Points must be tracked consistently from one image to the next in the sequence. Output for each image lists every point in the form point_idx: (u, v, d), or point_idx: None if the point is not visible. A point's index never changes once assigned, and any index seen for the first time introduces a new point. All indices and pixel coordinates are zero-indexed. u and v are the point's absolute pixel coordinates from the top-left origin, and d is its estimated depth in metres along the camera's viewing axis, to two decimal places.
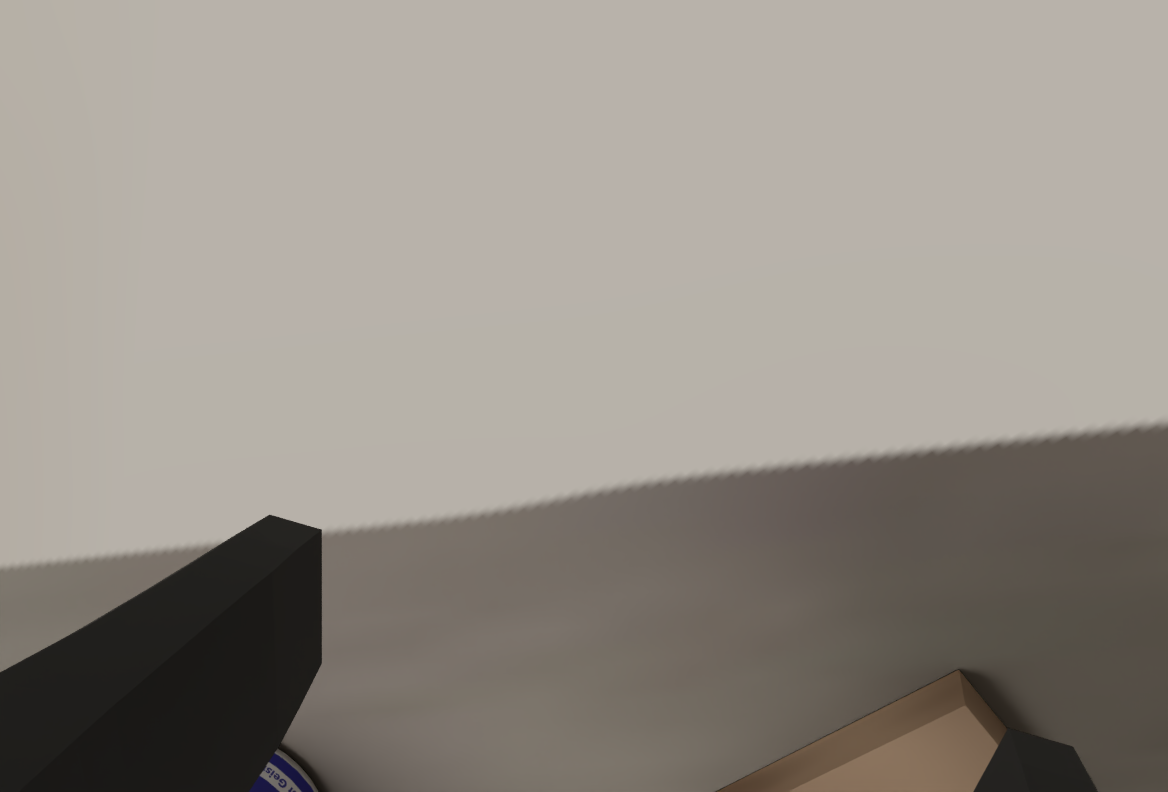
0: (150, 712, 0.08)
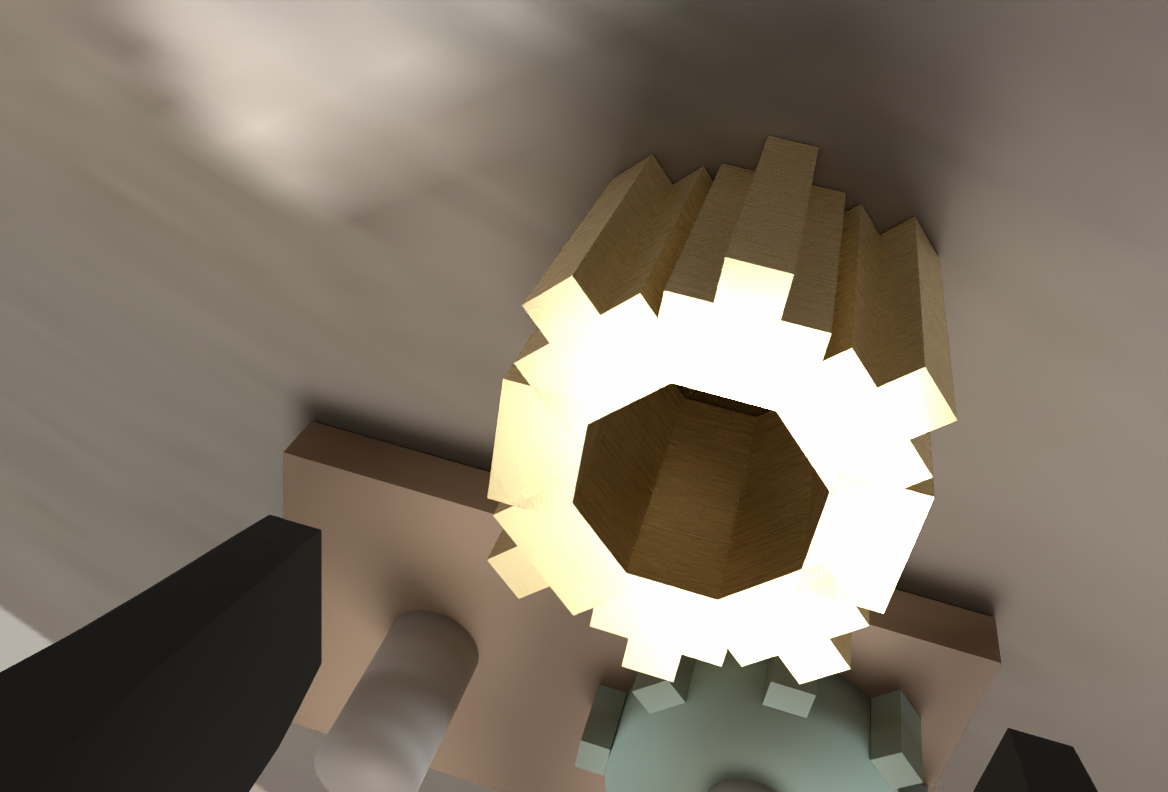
0: (150, 713, 0.08)
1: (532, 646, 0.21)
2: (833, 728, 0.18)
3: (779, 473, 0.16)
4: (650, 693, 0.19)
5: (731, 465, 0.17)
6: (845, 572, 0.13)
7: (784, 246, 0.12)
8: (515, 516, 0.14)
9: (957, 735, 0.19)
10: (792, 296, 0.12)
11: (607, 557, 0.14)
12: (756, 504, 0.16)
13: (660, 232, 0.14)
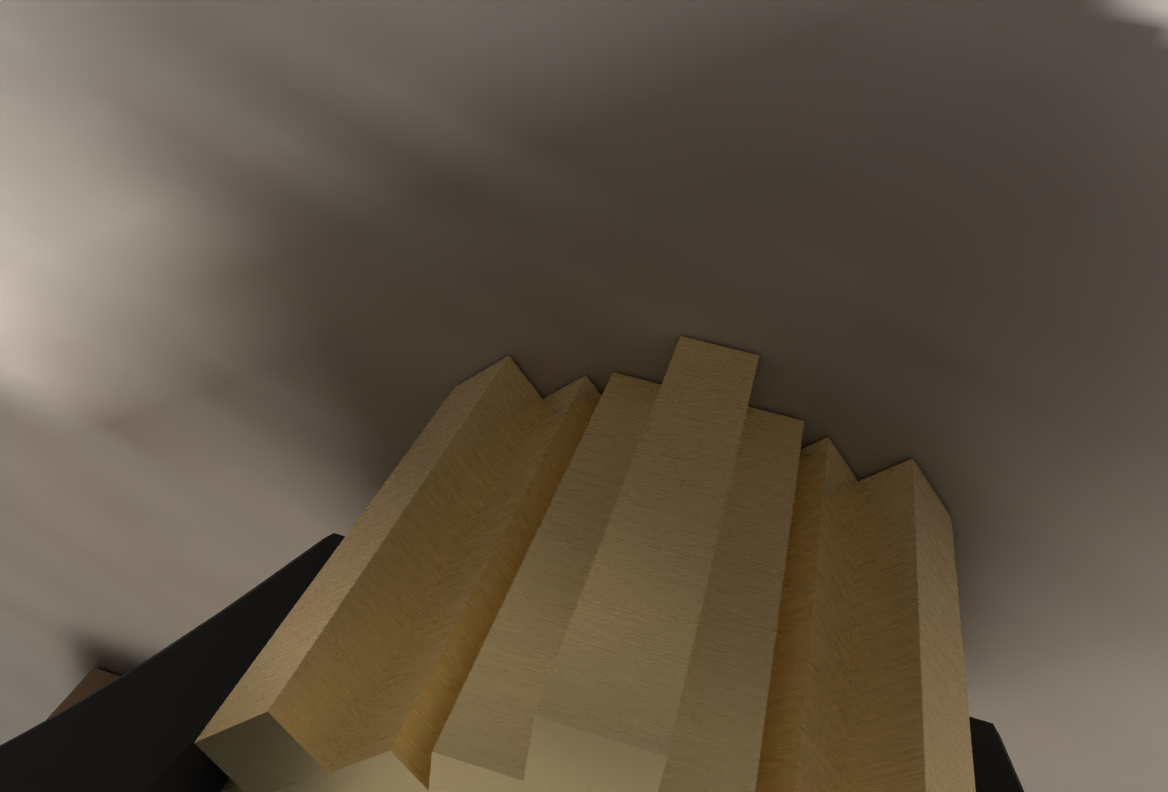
0: None
1: None
2: None
3: None
4: None
5: None
6: None
7: (662, 656, 0.06)
8: None
9: None
10: (682, 735, 0.07)
11: None
12: None
13: (484, 540, 0.08)
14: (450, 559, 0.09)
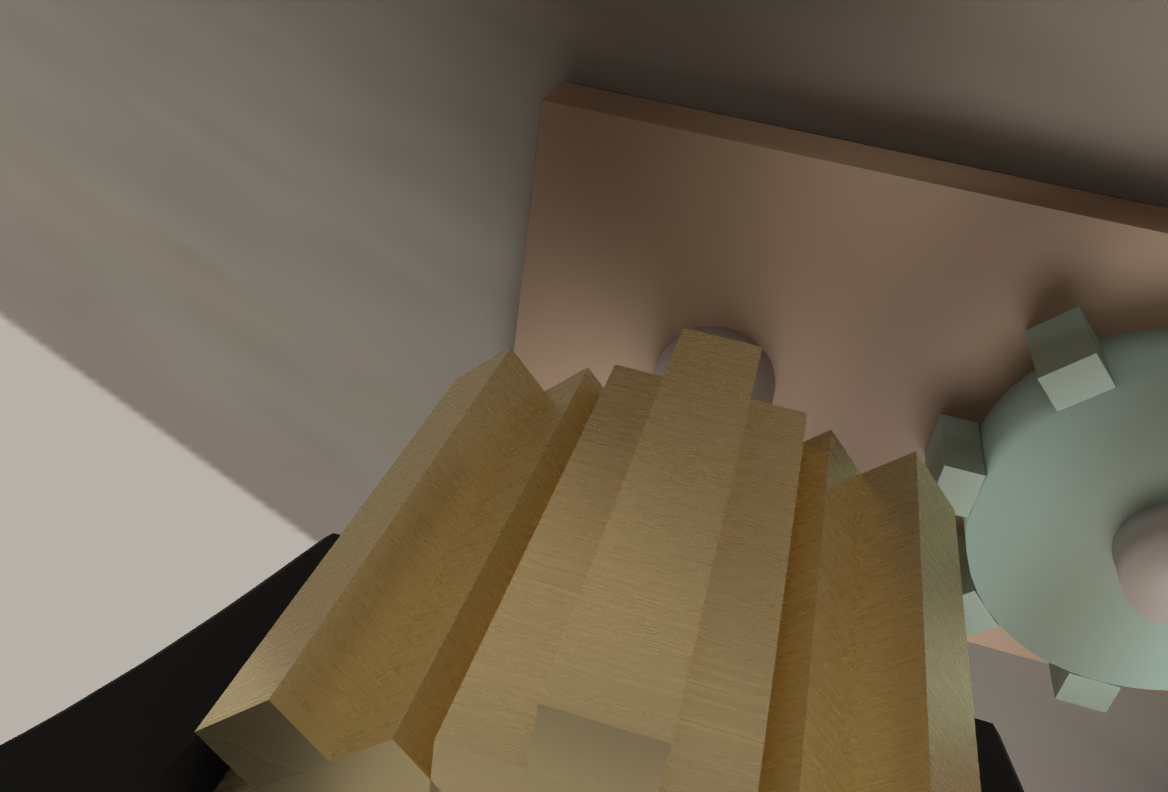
0: None
1: (854, 365, 0.16)
2: None
3: None
4: (1065, 377, 0.14)
5: None
6: None
7: (666, 644, 0.06)
8: None
9: None
10: (686, 723, 0.07)
11: None
12: None
13: (486, 530, 0.08)
14: (452, 550, 0.09)
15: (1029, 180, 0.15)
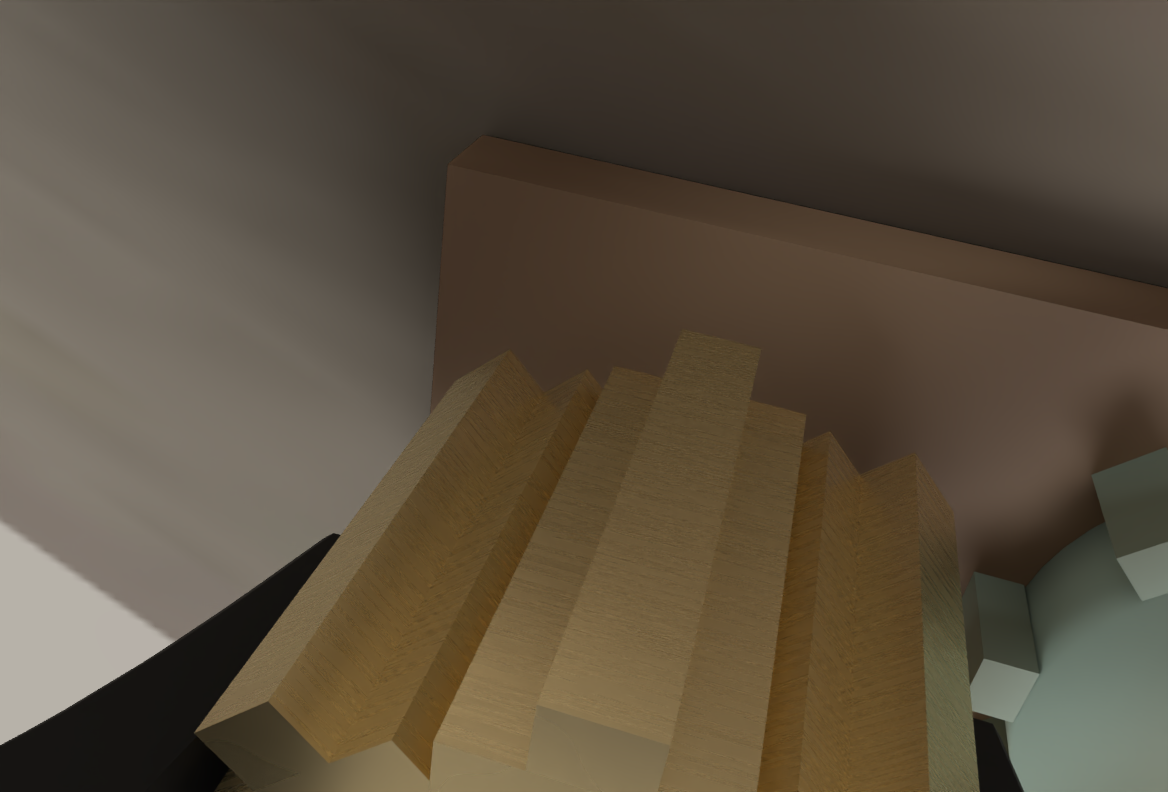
0: None
1: None
2: None
3: None
4: (1156, 559, 0.10)
5: None
6: None
7: (664, 646, 0.06)
8: None
9: None
10: (683, 725, 0.07)
11: None
12: None
13: (485, 531, 0.08)
14: (451, 551, 0.09)
15: (1097, 275, 0.11)
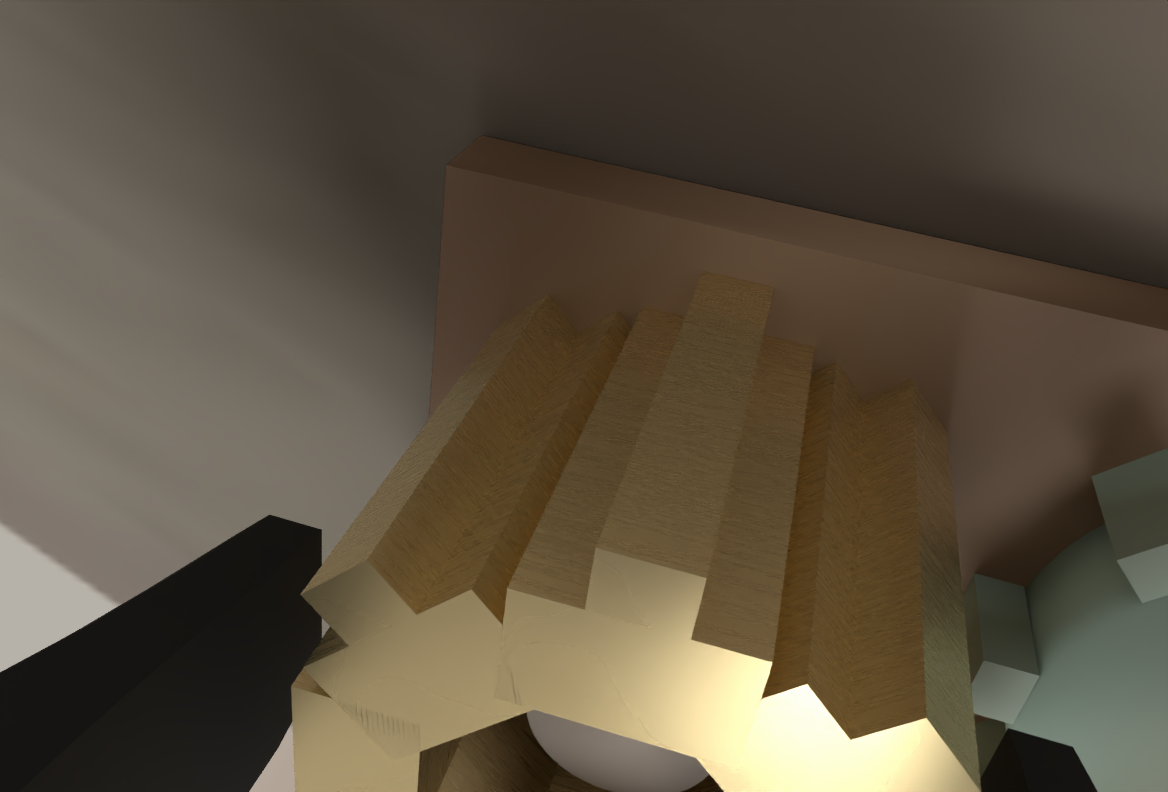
0: (152, 712, 0.08)
1: None
2: None
3: None
4: (1156, 560, 0.10)
5: None
6: None
7: (699, 509, 0.08)
8: None
9: None
10: (714, 579, 0.08)
11: None
12: (698, 789, 0.11)
13: (536, 439, 0.10)
14: (506, 458, 0.10)
15: (1097, 276, 0.11)
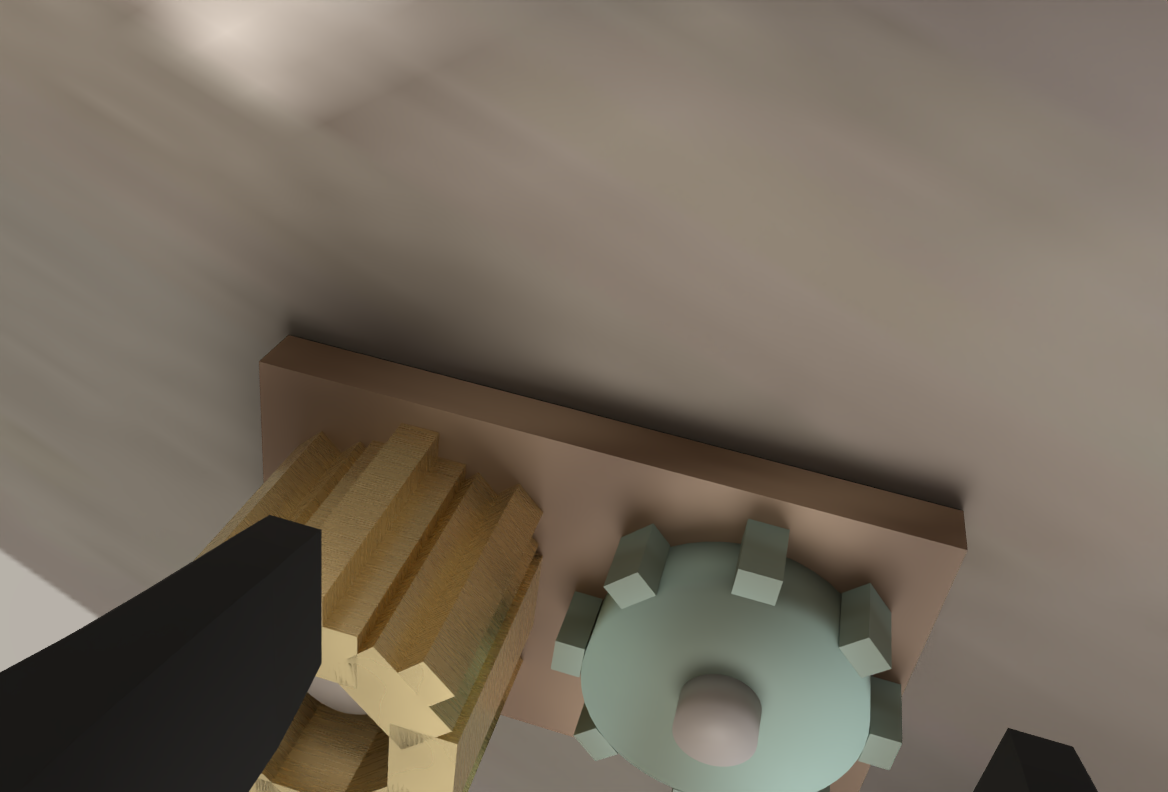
0: (150, 713, 0.08)
1: None
2: (801, 616, 0.18)
3: None
4: (621, 586, 0.19)
5: None
6: (416, 789, 0.18)
7: (333, 566, 0.16)
8: None
9: (927, 628, 0.19)
10: (346, 598, 0.17)
11: None
12: None
13: None
14: None
15: (624, 425, 0.20)
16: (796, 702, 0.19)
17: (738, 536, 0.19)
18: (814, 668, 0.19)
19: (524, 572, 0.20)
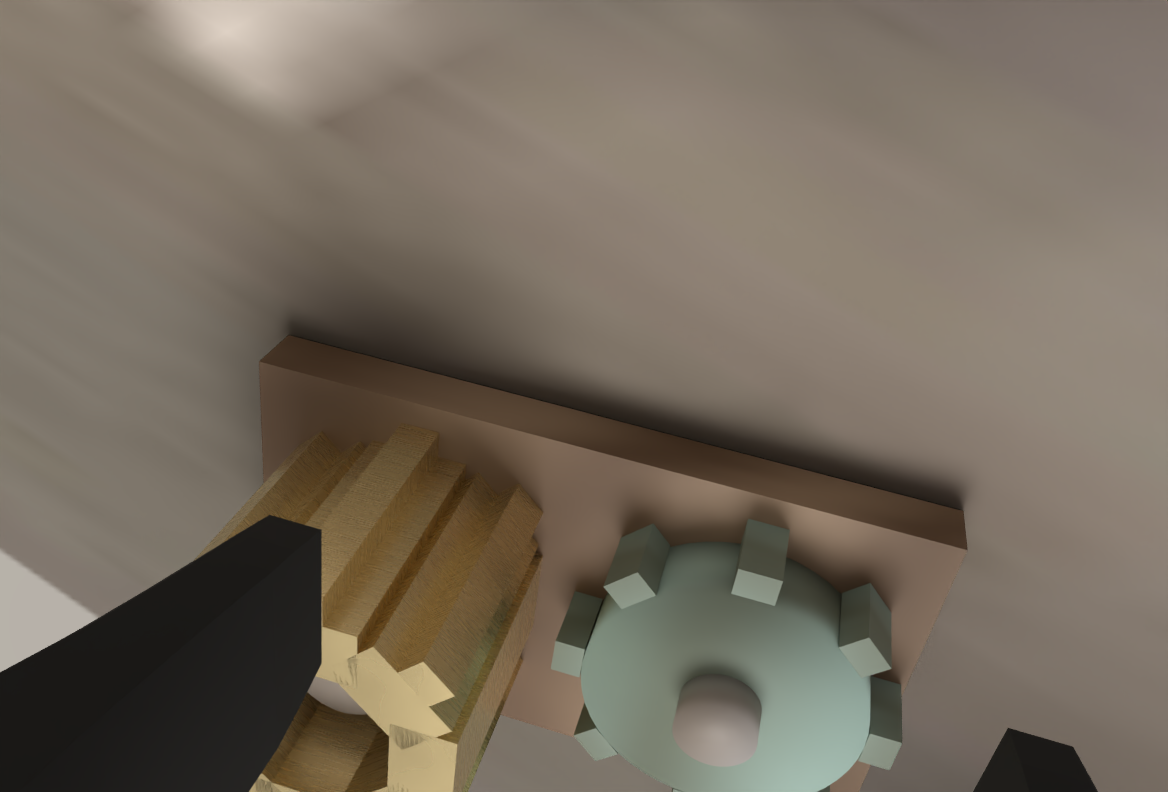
0: (150, 713, 0.08)
1: None
2: (801, 616, 0.18)
3: None
4: (621, 586, 0.19)
5: None
6: (416, 790, 0.18)
7: (333, 566, 0.16)
8: None
9: (927, 628, 0.19)
10: (346, 598, 0.17)
11: None
12: None
13: None
14: None
15: (624, 425, 0.20)
16: (796, 702, 0.19)
17: (738, 536, 0.19)
18: (814, 668, 0.19)
19: (524, 572, 0.20)
